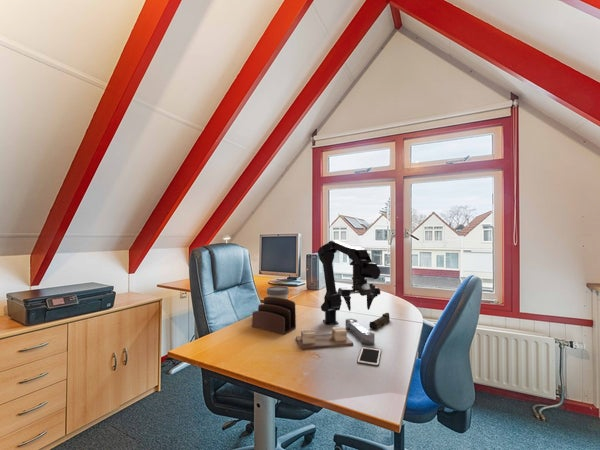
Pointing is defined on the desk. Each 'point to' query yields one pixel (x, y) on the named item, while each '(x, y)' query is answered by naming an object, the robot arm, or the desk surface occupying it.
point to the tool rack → (323, 339)
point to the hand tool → (379, 321)
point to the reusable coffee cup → (278, 292)
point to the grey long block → (360, 332)
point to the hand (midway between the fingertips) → (359, 310)
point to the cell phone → (369, 356)
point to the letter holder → (275, 315)
